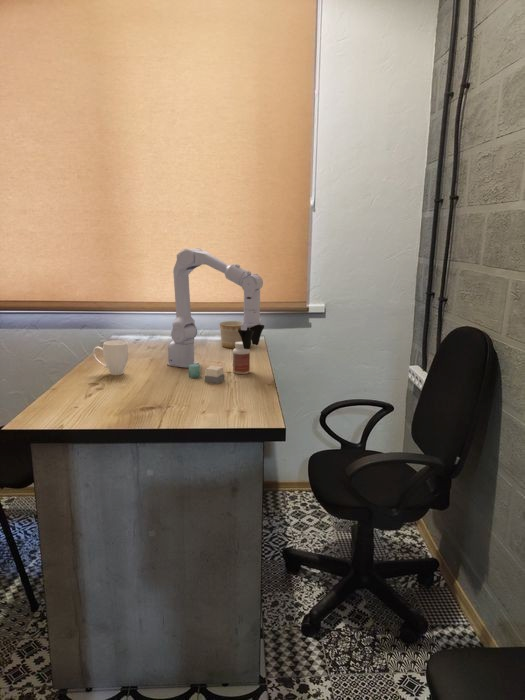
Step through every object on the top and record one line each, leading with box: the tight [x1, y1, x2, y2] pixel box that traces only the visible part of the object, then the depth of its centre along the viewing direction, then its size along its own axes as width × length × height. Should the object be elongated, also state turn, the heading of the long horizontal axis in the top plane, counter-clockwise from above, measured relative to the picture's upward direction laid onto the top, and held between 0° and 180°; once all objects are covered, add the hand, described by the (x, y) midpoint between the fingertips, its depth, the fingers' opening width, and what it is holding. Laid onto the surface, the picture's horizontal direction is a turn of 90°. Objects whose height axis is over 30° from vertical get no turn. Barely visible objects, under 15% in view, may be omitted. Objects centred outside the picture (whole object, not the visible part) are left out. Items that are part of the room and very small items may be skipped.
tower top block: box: [205, 365, 224, 377], centre depth 172 cm, size 4×4×2 cm
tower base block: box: [204, 373, 226, 385], centre depth 173 cm, size 5×5×2 cm
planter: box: [219, 320, 244, 349], centre depth 225 cm, size 13×13×10 cm
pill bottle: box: [232, 342, 251, 375], centre depth 183 cm, size 6×6×11 cm
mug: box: [92, 339, 129, 376], centre depth 177 cm, size 12×8×11 cm
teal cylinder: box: [188, 363, 201, 379], centre depth 177 cm, size 4×4×4 cm
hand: (251, 346), depth 180 cm, fingers open, 7 cm apart
